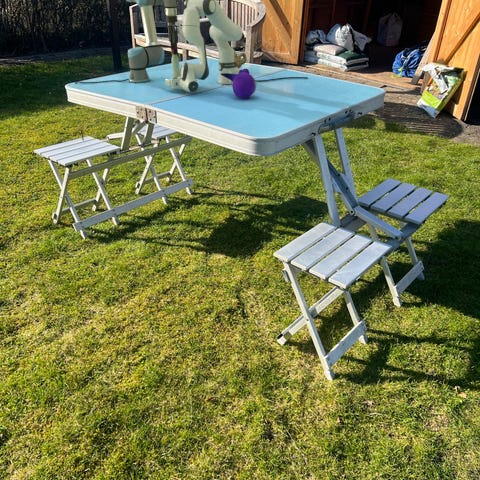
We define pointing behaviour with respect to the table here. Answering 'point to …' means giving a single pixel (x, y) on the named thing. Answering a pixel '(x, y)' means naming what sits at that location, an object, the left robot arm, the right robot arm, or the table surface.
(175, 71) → the bottle
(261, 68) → the table surface
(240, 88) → the toy
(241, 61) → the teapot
